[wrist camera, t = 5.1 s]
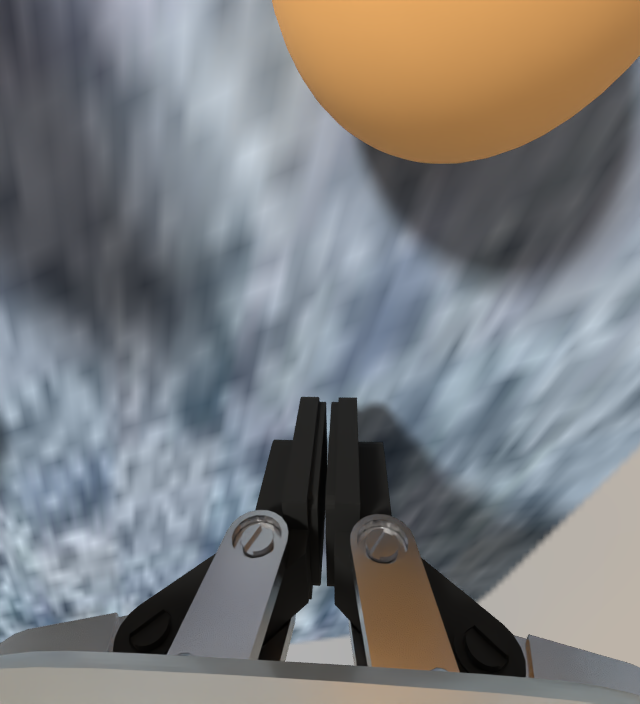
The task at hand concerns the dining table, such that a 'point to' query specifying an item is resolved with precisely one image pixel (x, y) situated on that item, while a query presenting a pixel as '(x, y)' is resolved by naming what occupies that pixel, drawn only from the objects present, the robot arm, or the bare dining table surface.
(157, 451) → the dining table surface
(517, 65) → the ball
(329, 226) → the dining table surface
